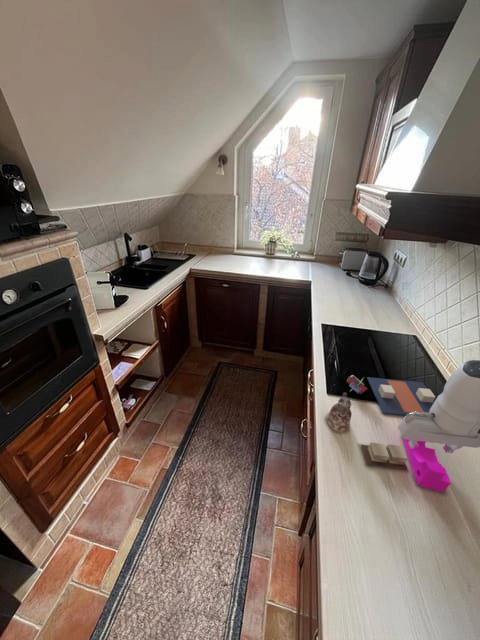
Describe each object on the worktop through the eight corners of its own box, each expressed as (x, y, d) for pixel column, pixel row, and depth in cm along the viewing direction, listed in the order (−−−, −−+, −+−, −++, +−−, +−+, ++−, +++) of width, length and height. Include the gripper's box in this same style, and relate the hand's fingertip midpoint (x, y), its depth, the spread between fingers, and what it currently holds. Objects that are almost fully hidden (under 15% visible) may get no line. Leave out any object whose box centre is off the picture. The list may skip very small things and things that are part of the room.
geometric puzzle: (373, 388, 98) (364, 370, 97) (367, 399, 93) (358, 379, 93) (355, 389, 103) (347, 372, 102) (348, 399, 98) (340, 380, 98)
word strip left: (397, 450, 78) (402, 443, 76) (406, 470, 73) (411, 462, 71) (360, 446, 79) (364, 438, 77) (367, 465, 74) (370, 457, 72)
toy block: (443, 492, 68) (456, 476, 64) (417, 485, 70) (428, 469, 66) (424, 442, 81) (434, 427, 77) (403, 437, 82) (411, 422, 78)
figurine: (325, 426, 85) (332, 401, 79) (328, 411, 91) (335, 386, 84) (347, 435, 82) (357, 409, 76) (349, 418, 88) (358, 394, 82)
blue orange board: (422, 383, 104) (425, 376, 102) (448, 420, 88) (453, 413, 86) (366, 378, 106) (369, 371, 104) (382, 413, 90) (385, 406, 88)
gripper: (415, 421, 63) (396, 454, 70) (504, 431, 61) (474, 464, 68) (404, 401, 68) (387, 434, 75) (485, 410, 67) (460, 442, 74)
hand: (429, 448), depth 72 cm, fingers open, 8 cm apart
